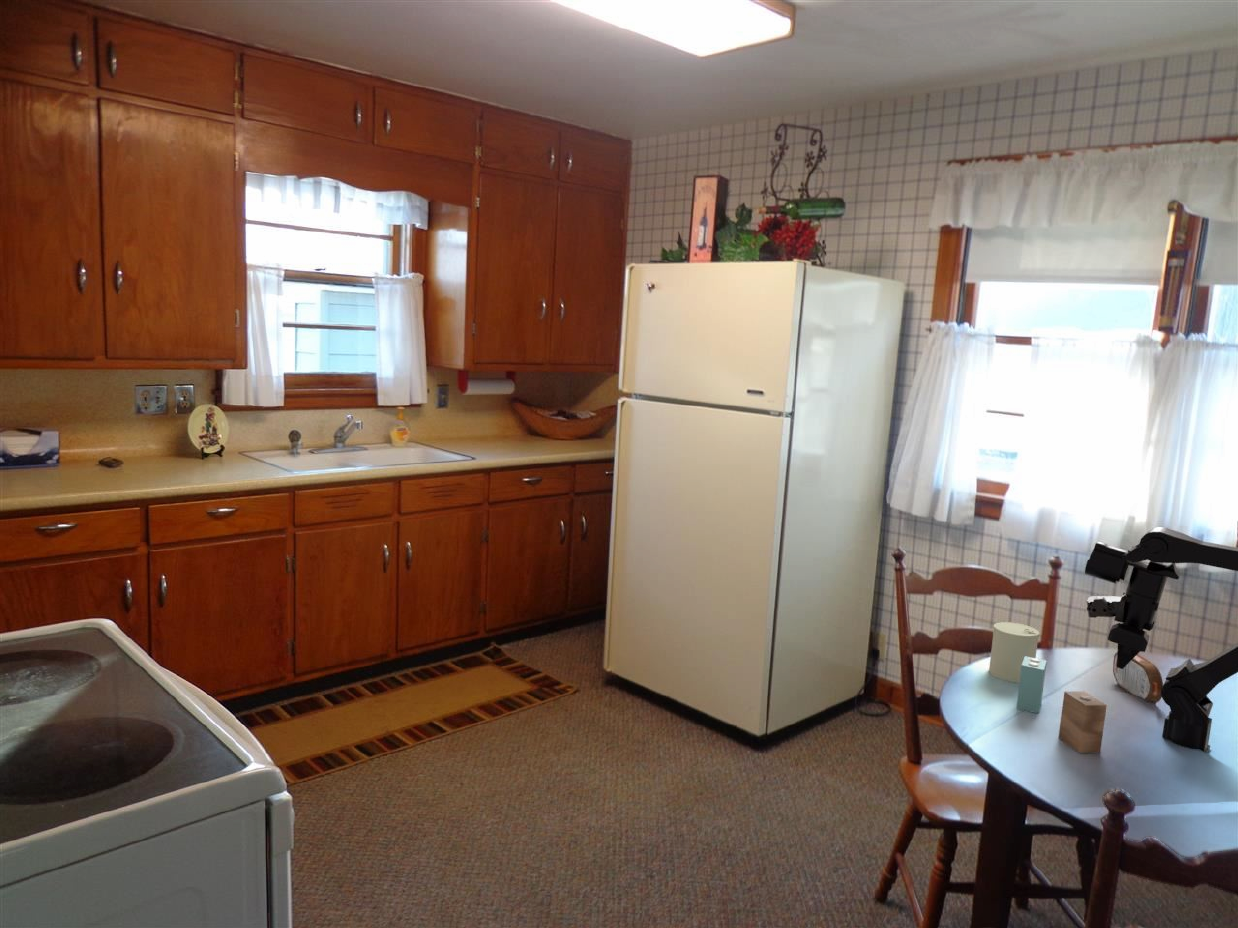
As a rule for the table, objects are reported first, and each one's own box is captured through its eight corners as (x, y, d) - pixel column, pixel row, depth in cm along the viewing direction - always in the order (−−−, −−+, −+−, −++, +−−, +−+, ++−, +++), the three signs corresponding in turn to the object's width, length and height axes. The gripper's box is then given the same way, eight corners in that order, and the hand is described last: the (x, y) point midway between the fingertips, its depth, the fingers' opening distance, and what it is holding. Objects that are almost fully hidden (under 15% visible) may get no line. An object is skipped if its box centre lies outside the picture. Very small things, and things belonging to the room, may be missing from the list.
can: (1027, 691, 187) (1034, 637, 185) (982, 679, 192) (988, 626, 191) (1037, 678, 194) (1044, 626, 192) (994, 667, 200) (999, 616, 198)
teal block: (1041, 702, 178) (1046, 659, 177) (1038, 713, 173) (1044, 668, 172) (1019, 698, 180) (1025, 655, 179) (1016, 708, 175) (1021, 664, 174)
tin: (1161, 709, 181) (1167, 670, 179) (1146, 708, 181) (1152, 669, 179) (1122, 680, 196) (1127, 644, 194) (1107, 680, 196) (1112, 643, 194)
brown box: (1078, 737, 163) (1084, 690, 162) (1100, 752, 157) (1106, 704, 156) (1058, 737, 163) (1064, 690, 161) (1079, 753, 157) (1086, 704, 155)
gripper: (1103, 568, 178) (1081, 639, 181) (1090, 589, 162) (1066, 665, 166) (1165, 587, 172) (1142, 659, 175) (1158, 610, 156) (1132, 689, 160)
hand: (1119, 667), depth 169 cm, fingers closed
